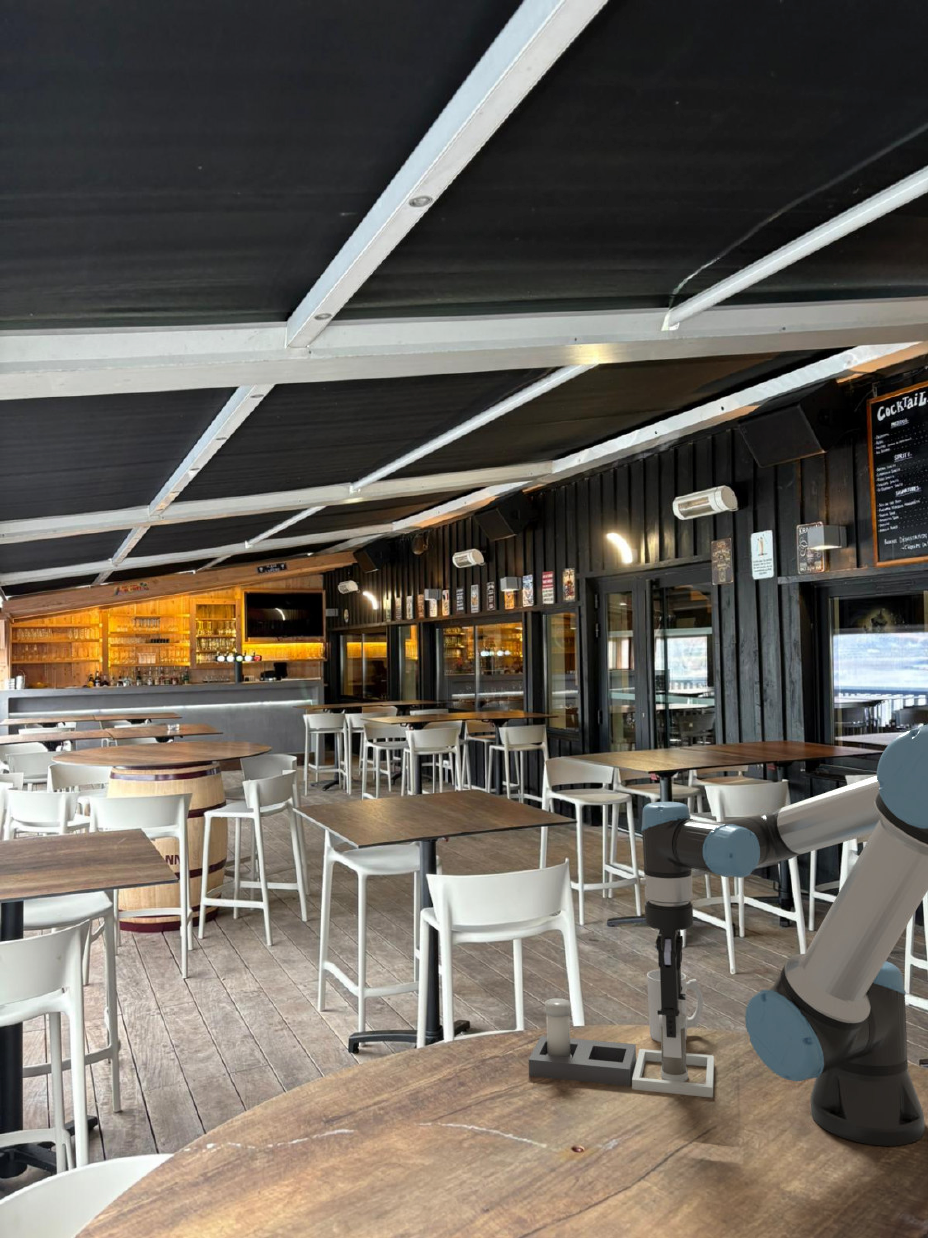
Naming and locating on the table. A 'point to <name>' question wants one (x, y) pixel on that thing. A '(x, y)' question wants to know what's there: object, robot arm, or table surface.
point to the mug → (655, 1000)
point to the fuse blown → (675, 1066)
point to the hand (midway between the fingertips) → (673, 1049)
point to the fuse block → (586, 1062)
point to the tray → (674, 1086)
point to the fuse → (558, 1027)
